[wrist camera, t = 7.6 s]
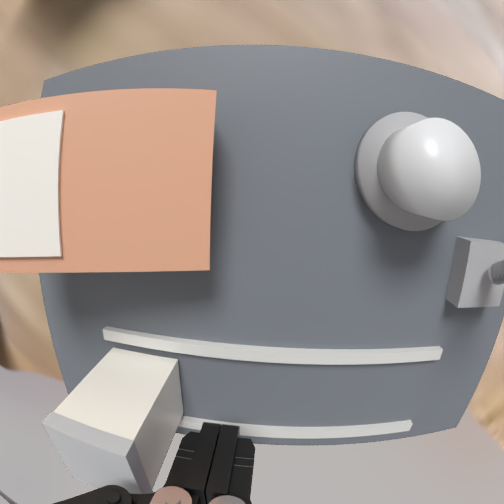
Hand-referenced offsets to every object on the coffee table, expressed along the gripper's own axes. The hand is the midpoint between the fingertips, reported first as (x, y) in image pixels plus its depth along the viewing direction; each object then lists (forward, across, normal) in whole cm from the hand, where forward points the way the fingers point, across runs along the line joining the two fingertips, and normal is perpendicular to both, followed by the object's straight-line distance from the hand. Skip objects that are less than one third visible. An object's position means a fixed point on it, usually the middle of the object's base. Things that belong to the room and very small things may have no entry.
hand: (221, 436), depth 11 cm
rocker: (0, +5, -10) cm, 11 cm away
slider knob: (+3, +4, 0) cm, 5 cm away
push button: (+2, -7, -11) cm, 13 cm away
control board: (+6, -2, -6) cm, 8 cm away
